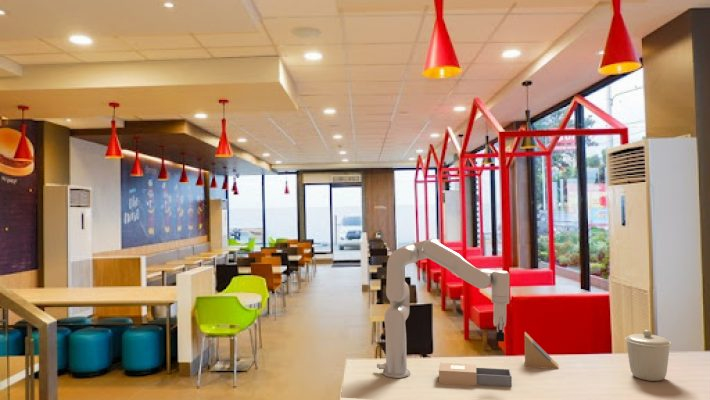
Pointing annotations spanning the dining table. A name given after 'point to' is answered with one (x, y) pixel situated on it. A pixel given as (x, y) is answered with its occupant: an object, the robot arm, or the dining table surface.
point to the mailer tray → (494, 377)
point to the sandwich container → (537, 355)
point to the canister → (648, 355)
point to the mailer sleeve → (457, 374)
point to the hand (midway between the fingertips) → (500, 340)
